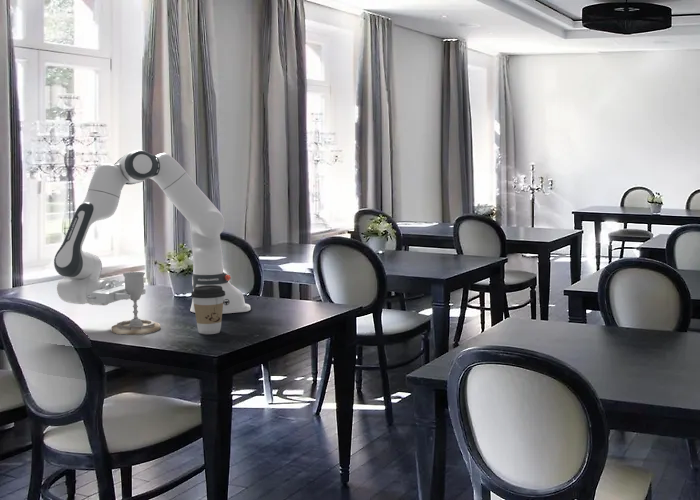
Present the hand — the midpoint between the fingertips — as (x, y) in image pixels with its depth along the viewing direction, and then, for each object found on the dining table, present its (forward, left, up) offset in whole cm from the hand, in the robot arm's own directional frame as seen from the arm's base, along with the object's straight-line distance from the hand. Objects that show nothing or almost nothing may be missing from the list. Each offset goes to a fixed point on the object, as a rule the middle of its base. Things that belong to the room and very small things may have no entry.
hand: (137, 294), depth 285 cm
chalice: (+1, 0, -11) cm, 11 cm away
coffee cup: (-23, +10, -12) cm, 28 cm away
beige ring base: (+1, 0, -12) cm, 12 cm away
